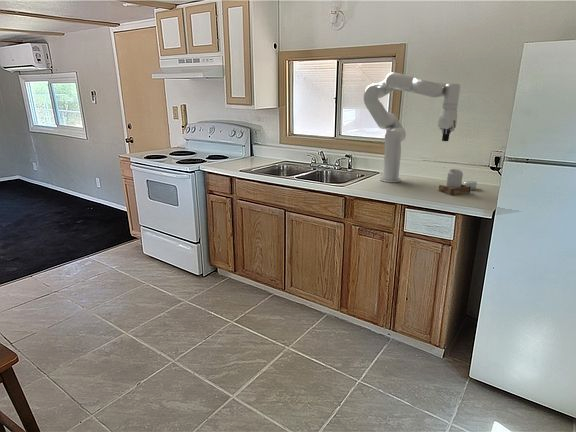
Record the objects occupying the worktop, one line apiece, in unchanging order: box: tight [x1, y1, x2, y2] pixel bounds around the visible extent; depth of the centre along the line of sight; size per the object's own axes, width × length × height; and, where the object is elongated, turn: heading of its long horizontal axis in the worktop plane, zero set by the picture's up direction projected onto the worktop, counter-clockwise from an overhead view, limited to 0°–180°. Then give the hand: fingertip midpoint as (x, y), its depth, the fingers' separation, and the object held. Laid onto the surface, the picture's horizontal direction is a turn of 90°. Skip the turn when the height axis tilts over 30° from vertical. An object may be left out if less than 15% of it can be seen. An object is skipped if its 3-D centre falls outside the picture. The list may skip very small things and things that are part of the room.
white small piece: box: [462, 180, 478, 191], centre depth 221 cm, size 7×7×4 cm
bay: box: [438, 183, 472, 196], centre depth 214 cm, size 10×12×4 cm
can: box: [445, 168, 464, 188], centre depth 213 cm, size 8×8×12 cm
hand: (445, 140), depth 220 cm, fingers closed
